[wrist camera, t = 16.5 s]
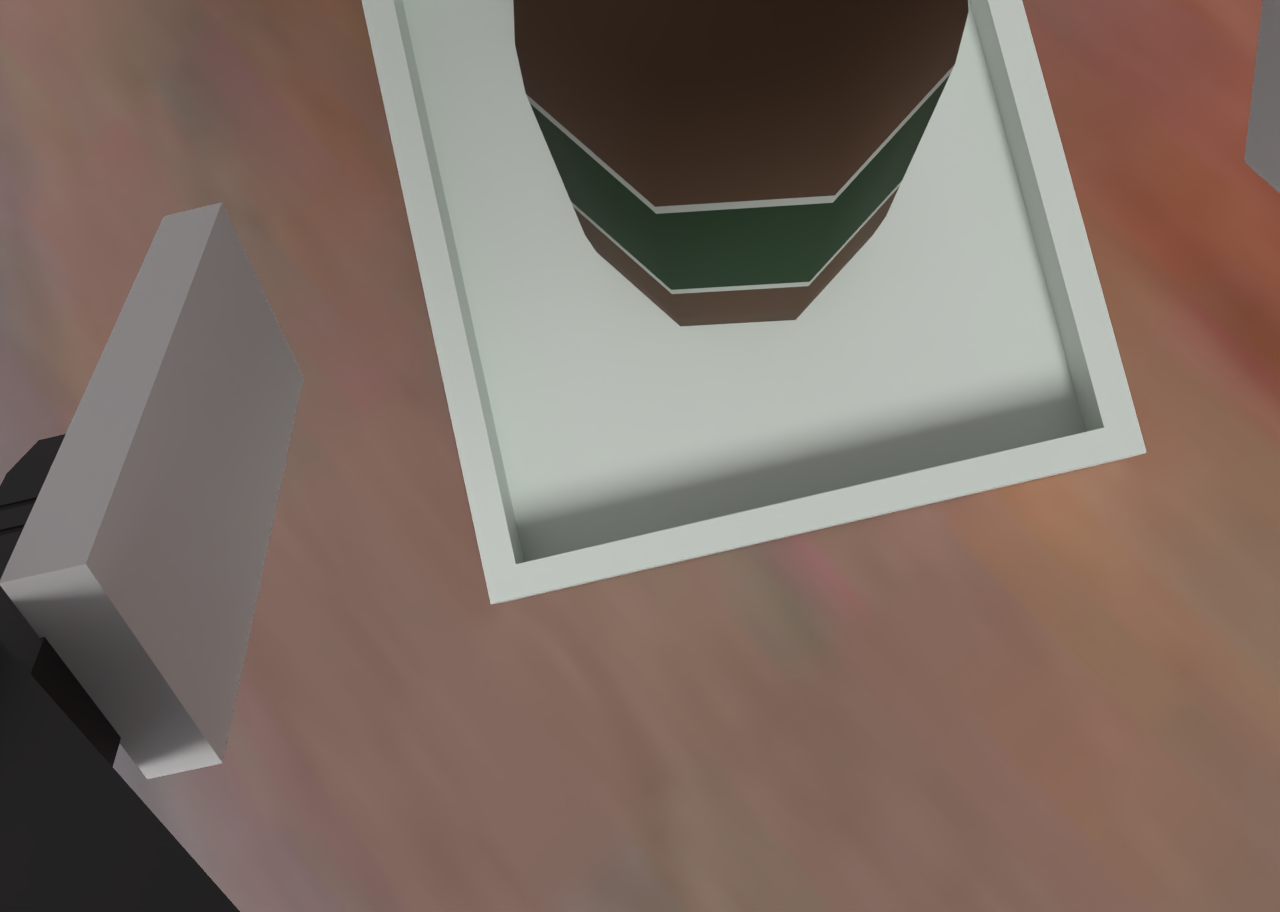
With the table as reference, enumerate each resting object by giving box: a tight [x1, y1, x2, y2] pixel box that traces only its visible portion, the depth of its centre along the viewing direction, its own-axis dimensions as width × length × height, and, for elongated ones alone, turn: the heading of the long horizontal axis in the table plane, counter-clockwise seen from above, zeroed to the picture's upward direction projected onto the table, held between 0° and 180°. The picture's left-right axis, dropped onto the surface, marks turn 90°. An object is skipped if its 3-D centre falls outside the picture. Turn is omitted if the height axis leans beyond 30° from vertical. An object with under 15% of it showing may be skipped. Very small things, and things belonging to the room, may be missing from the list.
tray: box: [362, 0, 1147, 604], centre depth 31 cm, size 16×18×2 cm
